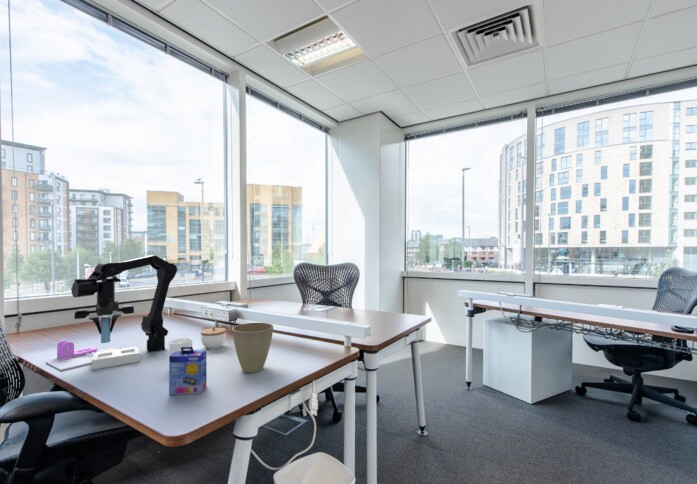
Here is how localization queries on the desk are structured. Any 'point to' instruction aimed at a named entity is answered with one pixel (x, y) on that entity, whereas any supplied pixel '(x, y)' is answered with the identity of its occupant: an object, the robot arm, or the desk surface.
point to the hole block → (115, 357)
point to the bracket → (71, 350)
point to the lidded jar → (213, 337)
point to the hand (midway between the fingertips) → (105, 333)
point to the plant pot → (252, 344)
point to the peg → (105, 329)
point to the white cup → (179, 344)
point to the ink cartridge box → (187, 371)
